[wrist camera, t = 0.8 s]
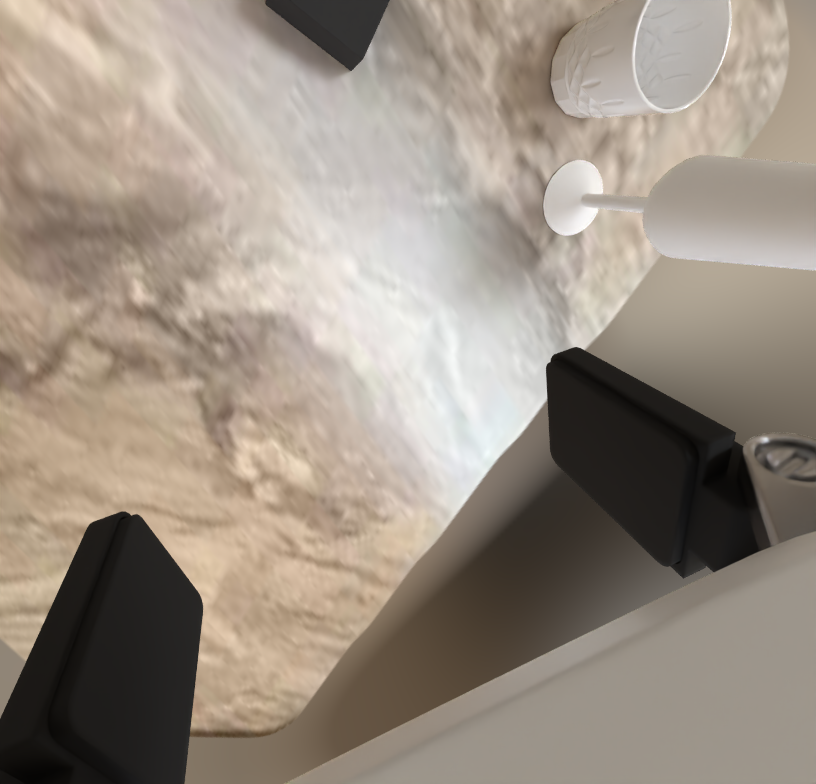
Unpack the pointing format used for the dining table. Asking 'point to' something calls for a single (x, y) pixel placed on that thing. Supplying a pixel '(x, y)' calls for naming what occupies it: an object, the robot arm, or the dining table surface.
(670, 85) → the white cup
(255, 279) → the dining table surface
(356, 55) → the black pad
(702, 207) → the champagne flute
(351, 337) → the dining table surface
